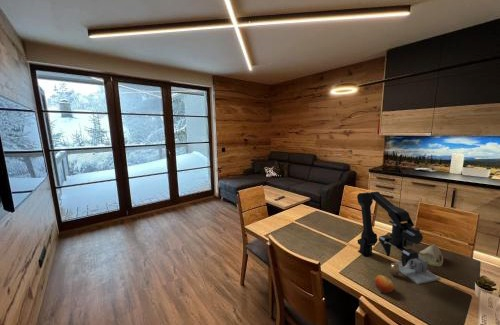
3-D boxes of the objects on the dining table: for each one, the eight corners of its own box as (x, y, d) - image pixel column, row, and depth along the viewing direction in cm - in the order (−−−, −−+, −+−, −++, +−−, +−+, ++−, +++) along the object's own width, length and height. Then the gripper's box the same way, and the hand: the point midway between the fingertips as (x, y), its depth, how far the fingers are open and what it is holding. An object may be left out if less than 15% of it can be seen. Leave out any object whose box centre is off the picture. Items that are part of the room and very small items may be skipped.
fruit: (367, 282, 107) (376, 269, 106) (379, 288, 108) (387, 276, 107) (378, 294, 99) (387, 281, 98) (391, 301, 100) (400, 287, 99)
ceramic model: (438, 269, 118) (440, 253, 116) (414, 259, 127) (416, 244, 125) (446, 260, 125) (448, 245, 124) (423, 251, 134) (425, 237, 133)
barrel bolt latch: (418, 284, 107) (419, 271, 105) (390, 264, 122) (392, 253, 121) (439, 279, 110) (441, 266, 108) (410, 261, 125) (411, 249, 124)
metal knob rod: (394, 276, 111) (395, 267, 110) (388, 272, 114) (389, 263, 113) (421, 270, 114) (422, 262, 114) (414, 266, 118) (415, 258, 117)
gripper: (429, 240, 102) (425, 269, 104) (395, 224, 120) (392, 249, 122) (410, 244, 99) (407, 273, 102) (378, 226, 117) (376, 251, 120)
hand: (395, 260), depth 111 cm, fingers open, 9 cm apart
